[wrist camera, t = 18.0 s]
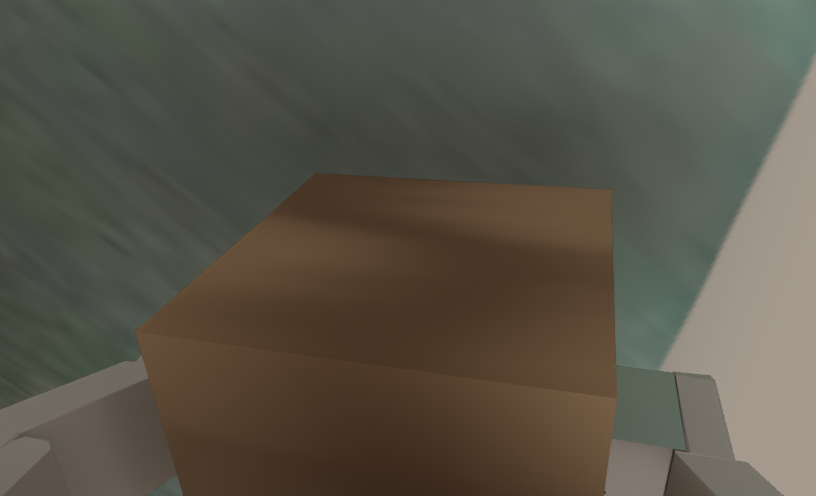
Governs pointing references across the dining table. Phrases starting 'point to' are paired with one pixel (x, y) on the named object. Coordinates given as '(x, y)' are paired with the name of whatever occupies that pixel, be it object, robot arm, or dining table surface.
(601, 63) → the dining table surface
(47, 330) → the dining table surface
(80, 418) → the robot arm
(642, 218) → the dining table surface
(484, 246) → the cube
